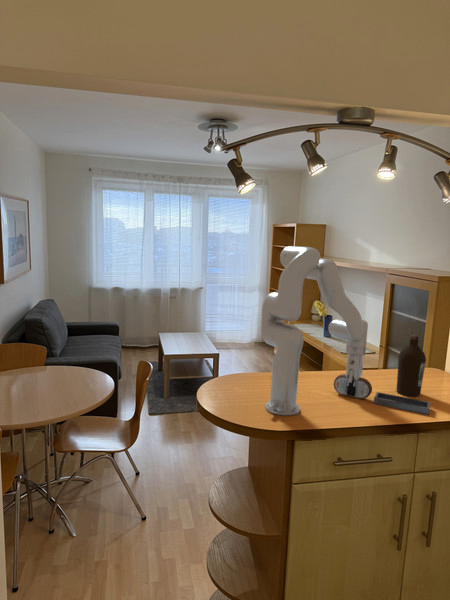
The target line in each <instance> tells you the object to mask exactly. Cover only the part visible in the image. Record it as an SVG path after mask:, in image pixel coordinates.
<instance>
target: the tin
mask: <svg viewBox="0 0 450 600" xmlns="http://www.w3.org/2000/svg"><path fill="white" fill-rule="evenodd" d="M353 378H354V377H353ZM352 381H353V382H354V380H352ZM347 385H348V378H346V373H343V374H339V375H338V376H336V377H335V379H334V381H333V388H334V390H335V391H336V393H338V394H339V395H341V396H345V397H349V398H355V399H358V400H365V399H367V398H368V397H369V396H370V395H371V394H372V392H373V387H372V384H371V382H370V381H369V380H368V379H366V378H364V377H360V379H359V380H356V382H355V386H356V390H355V396H351V395H347Z"/></svg>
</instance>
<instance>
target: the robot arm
mask: <svg viewBox="0 0 450 600" xmlns="http://www.w3.org/2000/svg"><path fill="white" fill-rule="evenodd" d="M279 259H280V260H279V261H280V264H281V265H282V266H283V267H284V269H283V270H282V272H281V273H280V276H279V280H278V289H277V291H273V292H270V293H268V294H267V295H266V296H265V298H264V299H263V302H262V308H261V331H260V332H261V337H262V339H263V342H265V343H266V344H267V345H269V346H271V347H274V348H275V349H276V351H275V354H274V355H273V359H272V364H271V382H270V383H271V384H270V397H269V401H267V402H266V403H265V409H266V411H268V412H270V413H271V414H275V415H278V416H295V415H297V414H299V413H300V411H301V407H300V405H298V403H297V398H298V397H297V395H298V381H299V369H300V368H299V367H300V359H301V358H300V357H301V353H302V349H303V346H304V343H305V342H304V341H305V338H304V334H303V332H302V330H301V329H299V327H297V326H295V325H292V324H289V323H286V322H295V321H297V320H298V319H299V318H300V317H301V314H302V303H303V288H304V283H305V279H308V280H315V281H316V282H317V285H318V288H319V291H320V295H321V298H322V301H323V303H324V304H325V305H326V306H327V307H329V308H330V309H331V310H332V311H334V312H336V313H337V314H338V315H339V316H340V317H341V318H336V319H333V320H332V321H330V323H329V324H328V332H329V335H331V336H332V337H334V338H336V339H340V340H343V341H346V344H345V345H346V346H345V354H347V360H346V361H347V362H346V371H345V374H346V378H348V385H347V395H351V396H355V390H356V386H355V382H356V380H359V379H360V378H362V376H363V367H364V357H365V355H366V349H367V341H368V328H369V324H368V322H367V320H364V319H362V316H361V313H360V312H359V309H358V308H357V307H356V305H355V304H354V303H353V302H352V301H351V300H350V299H349V297H348V296H347V295H346V293H345V290H344V286H343V282H342V279H341V275H340V273H339V268H338V266H337V263H336V262H335V261H334V260H332V259H329V258H322V257H321V253H320V251H319V250H318V249H317V248H315V247H311V246H298V245H297V246H296V245H289V246H286V247H284V248H283V249H282V250H281V252H280V255H279ZM353 377H354V378H353ZM352 380H354V382H353V381H352Z"/></svg>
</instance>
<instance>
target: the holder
mask: <svg viewBox="0 0 450 600" xmlns="http://www.w3.org/2000/svg"><path fill="white" fill-rule="evenodd" d="M373 404H374V405H377V406H378V405H379V406H383V407H387V408H392V409H397V410H398V409H399V410H402V411H406V412H412V413H417V414H422V415H427V416H429V413H430V408H431V407H430V406H431V401H425V400H421V399H414V398H411V397H410V398H409V397H406V396H401V395H400V396H399V395H394V394H389V393H385V392H379V391H376V394H375V395H374V398H373Z"/></svg>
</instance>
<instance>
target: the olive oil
mask: <svg viewBox="0 0 450 600" xmlns="http://www.w3.org/2000/svg"><path fill="white" fill-rule="evenodd" d="M419 337H420V336H419V335H416V334H411V335H410V338H409V344H408V345H406V346H405V347H404V348H403V349H401V350H400V351H399V354H398V358H397V359H398V362H397V376H396V377H397V378H396V380H397V381H396V391H395V392H396V393H397V394H400V396H401V395H402V396H403V397H408V398H409V397H410V398H411V397H412V398H416V397H417V398H418V397H420V396H421V392H422V387H423V386H422V385H423V380H424V374H425V368H426V364H427V363H426V361H427V357H426V354H425V352H424V351H423V350H422V349H421V347H420V346H419V341H420V339H419Z"/></svg>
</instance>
